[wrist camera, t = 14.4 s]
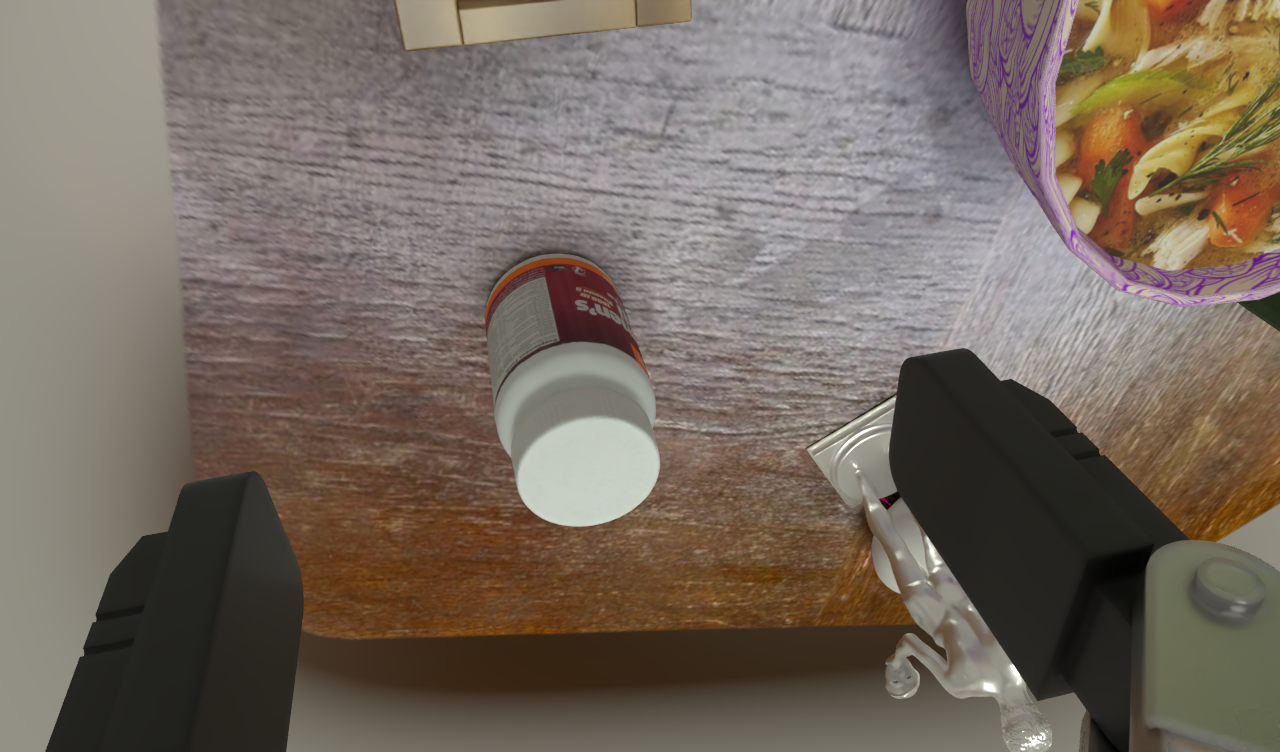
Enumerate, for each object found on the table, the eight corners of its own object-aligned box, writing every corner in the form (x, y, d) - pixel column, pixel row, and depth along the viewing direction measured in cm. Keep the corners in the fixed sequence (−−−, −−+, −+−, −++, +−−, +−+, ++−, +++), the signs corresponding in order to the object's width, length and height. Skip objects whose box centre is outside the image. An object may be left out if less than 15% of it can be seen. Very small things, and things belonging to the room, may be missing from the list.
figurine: (806, 527, 52) (954, 827, 37) (769, 454, 48) (920, 759, 33) (937, 466, 51) (1139, 749, 37) (911, 386, 47) (1127, 669, 32)
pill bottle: (646, 302, 40) (711, 462, 31) (554, 387, 42) (590, 562, 33) (549, 221, 37) (592, 373, 28) (453, 316, 39) (464, 489, 30)
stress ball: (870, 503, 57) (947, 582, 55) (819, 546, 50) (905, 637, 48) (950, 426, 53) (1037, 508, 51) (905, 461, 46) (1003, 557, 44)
